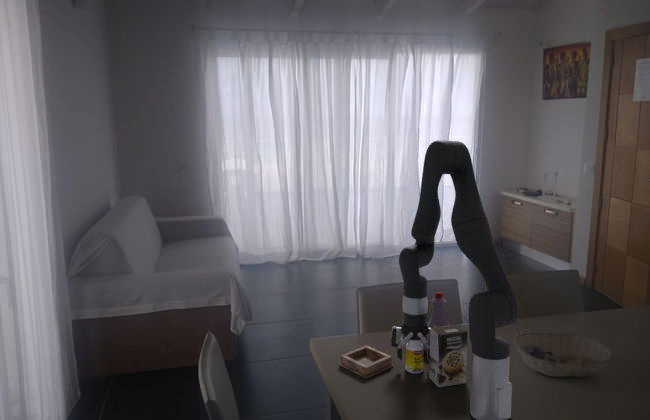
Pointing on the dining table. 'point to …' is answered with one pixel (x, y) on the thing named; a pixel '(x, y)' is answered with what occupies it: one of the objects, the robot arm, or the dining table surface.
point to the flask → (437, 314)
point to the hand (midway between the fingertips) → (414, 359)
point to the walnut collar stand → (366, 361)
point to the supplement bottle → (414, 356)
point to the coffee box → (448, 355)
